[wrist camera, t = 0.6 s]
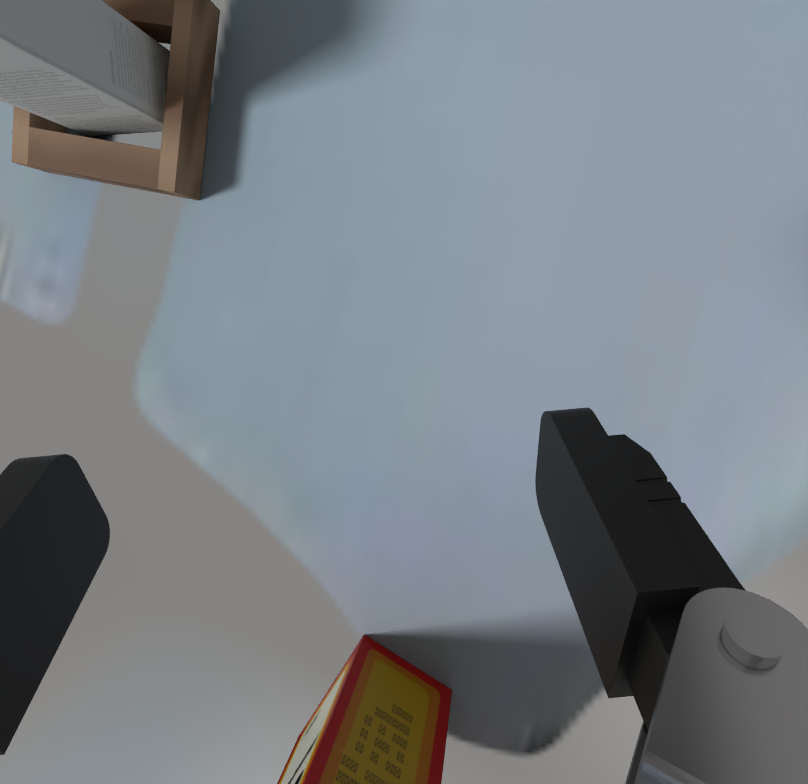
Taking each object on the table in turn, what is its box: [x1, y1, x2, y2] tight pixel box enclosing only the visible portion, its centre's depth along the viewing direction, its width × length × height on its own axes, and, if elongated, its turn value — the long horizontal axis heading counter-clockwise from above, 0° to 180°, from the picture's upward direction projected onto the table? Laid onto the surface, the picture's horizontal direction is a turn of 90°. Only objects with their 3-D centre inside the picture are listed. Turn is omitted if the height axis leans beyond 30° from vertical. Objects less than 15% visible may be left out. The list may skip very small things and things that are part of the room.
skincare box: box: [0, 0, 170, 136], centre depth 25 cm, size 6×4×12 cm
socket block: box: [12, 0, 220, 200], centre depth 30 cm, size 10×10×2 cm
